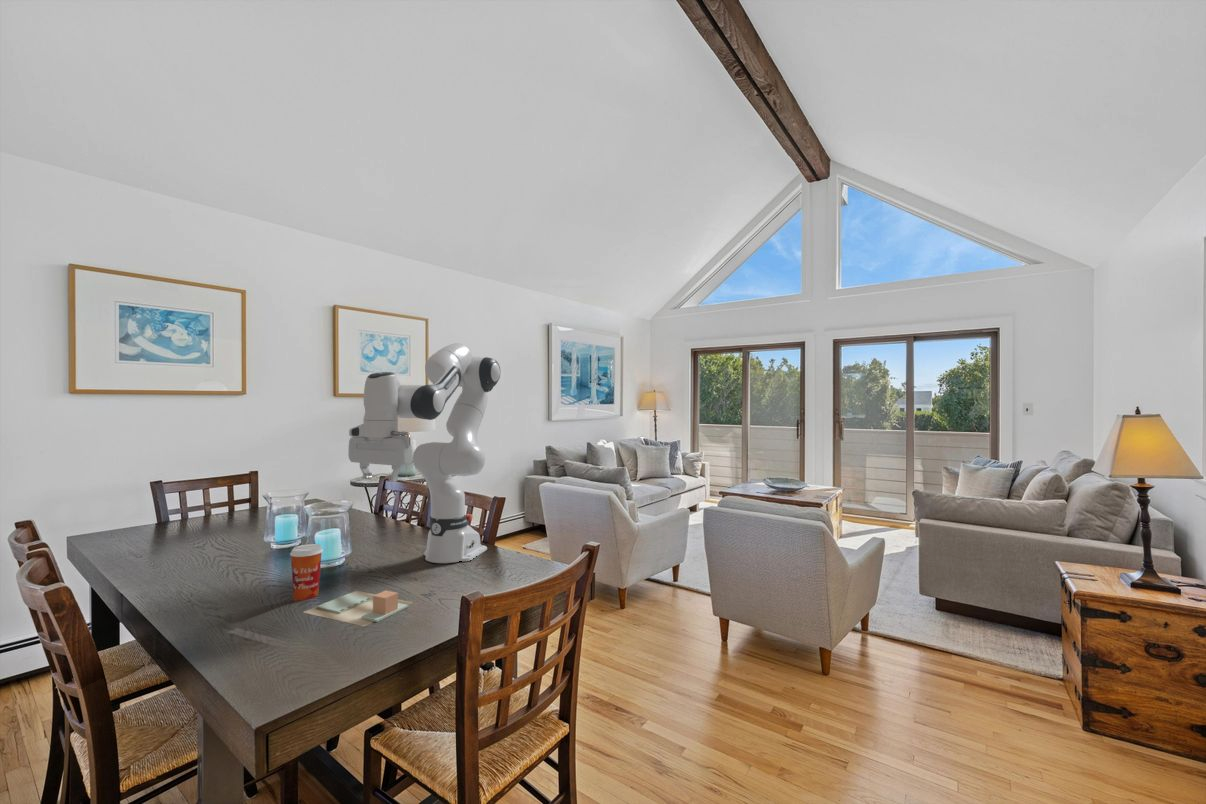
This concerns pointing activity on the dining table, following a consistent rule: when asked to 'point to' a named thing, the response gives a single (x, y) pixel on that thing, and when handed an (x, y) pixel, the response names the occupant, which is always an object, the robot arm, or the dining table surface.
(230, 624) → the dining table surface
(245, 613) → the dining table surface
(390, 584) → the dining table surface
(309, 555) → the paper cup
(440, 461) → the robot arm
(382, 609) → the stub
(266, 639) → the dining table surface
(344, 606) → the board
